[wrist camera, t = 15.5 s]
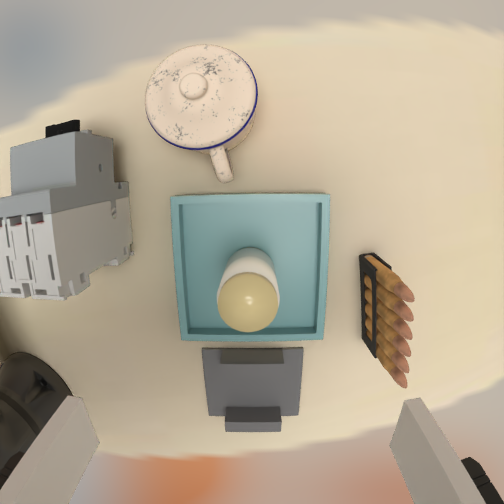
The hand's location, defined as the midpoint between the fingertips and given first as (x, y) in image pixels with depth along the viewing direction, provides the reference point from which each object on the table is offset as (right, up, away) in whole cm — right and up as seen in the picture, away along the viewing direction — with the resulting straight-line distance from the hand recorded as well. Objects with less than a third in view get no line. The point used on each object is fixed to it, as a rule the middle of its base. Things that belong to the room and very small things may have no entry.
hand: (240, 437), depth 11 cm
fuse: (0, +5, +23) cm, 24 cm away
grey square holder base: (+1, -9, +27) cm, 29 cm away
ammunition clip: (+14, +2, +25) cm, 28 cm away
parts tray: (0, +6, +24) cm, 25 cm away
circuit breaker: (-17, +14, +22) cm, 31 cm away
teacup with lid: (-3, +20, +21) cm, 29 cm away
